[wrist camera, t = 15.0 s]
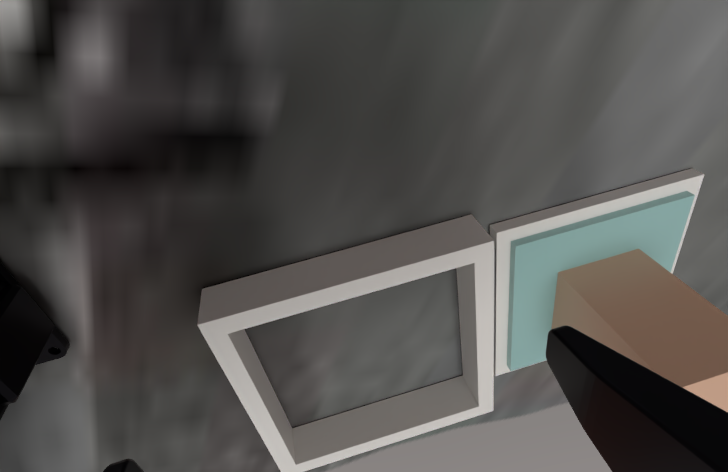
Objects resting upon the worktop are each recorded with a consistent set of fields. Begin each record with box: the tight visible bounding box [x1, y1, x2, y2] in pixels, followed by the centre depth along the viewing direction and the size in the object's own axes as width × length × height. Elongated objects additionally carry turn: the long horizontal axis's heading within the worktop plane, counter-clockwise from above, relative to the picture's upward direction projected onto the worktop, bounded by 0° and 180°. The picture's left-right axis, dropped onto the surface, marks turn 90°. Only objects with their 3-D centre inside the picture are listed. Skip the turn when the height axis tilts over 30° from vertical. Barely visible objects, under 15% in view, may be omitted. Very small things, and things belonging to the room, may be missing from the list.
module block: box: [551, 249, 728, 412], centre depth 23 cm, size 5×5×8 cm
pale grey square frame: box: [197, 214, 494, 472], centre depth 25 cm, size 14×15×2 cm
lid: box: [490, 168, 704, 376], centre depth 26 cm, size 13×12×1 cm
